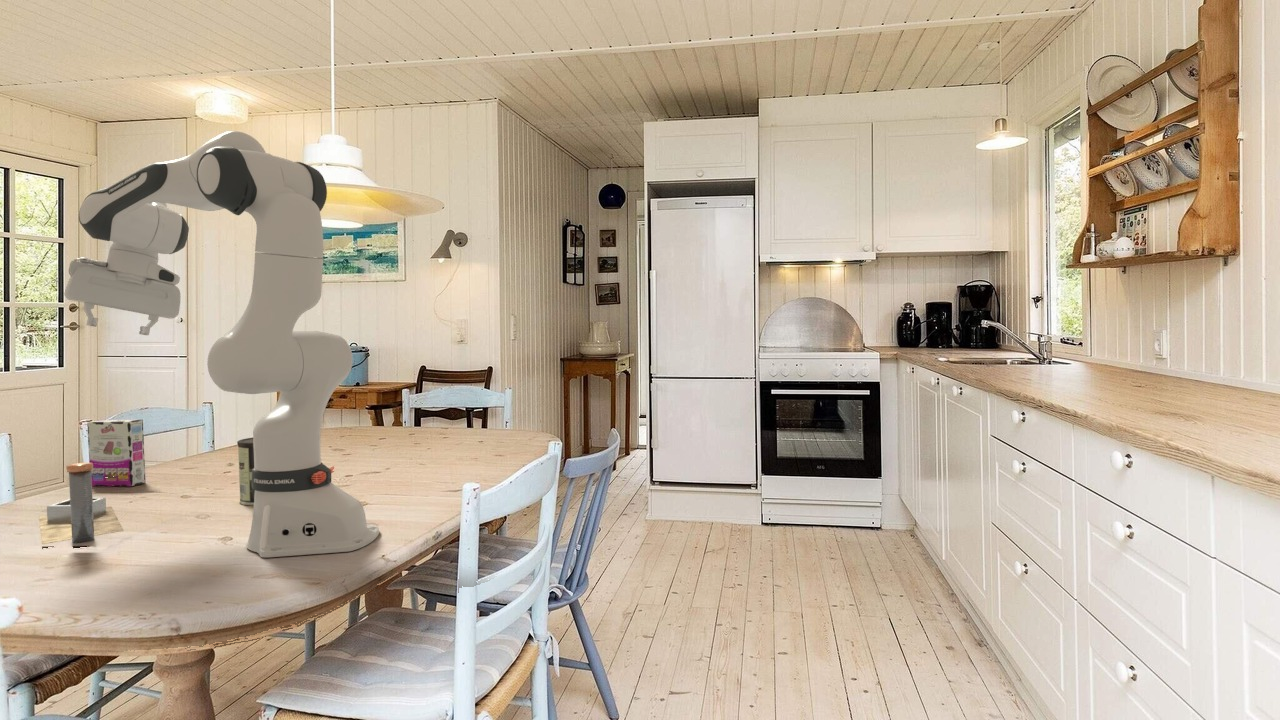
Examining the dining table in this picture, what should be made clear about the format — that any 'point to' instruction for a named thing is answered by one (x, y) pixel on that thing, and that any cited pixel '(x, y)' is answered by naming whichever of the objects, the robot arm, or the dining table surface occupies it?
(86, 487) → the pin
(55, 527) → the tan wooden board
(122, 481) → the candy bar box
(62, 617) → the dining table surface
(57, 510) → the shallow grey tray
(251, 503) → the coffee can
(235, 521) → the dining table surface
